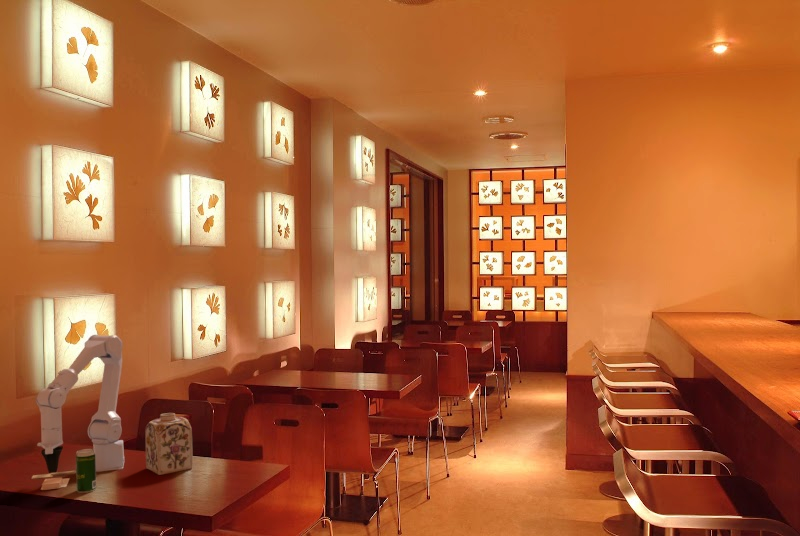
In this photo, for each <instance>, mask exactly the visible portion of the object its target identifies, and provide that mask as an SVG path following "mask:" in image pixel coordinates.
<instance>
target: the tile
mask: <svg viewBox="0 0 800 536" xmlns="http://www.w3.org/2000/svg"><path fill="white" fill-rule="evenodd" d="M62 479H63V477H62V476H61V477H50V478H44V480H43V482H42V484H41V488H42V491H47V490H48V491H49V490H56V489H61V488H62V487H61V484H62Z"/></svg>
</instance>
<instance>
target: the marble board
mask: <svg viewBox="0 0 800 536" xmlns="http://www.w3.org/2000/svg"><path fill="white" fill-rule="evenodd" d="M70 479H71V478H70V477H69V478H62V484H61V487H60V488H67V486H68V484H69V481H70ZM40 490H42V487H41V488H40ZM42 491H43V490H42Z"/></svg>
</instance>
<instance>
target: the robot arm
mask: <svg viewBox="0 0 800 536" xmlns="http://www.w3.org/2000/svg"><path fill="white" fill-rule="evenodd" d="M123 346H124V342H123V341H122V340H121V337H119V336H118V335H116V334H114V335H113V334H111V335H105V334H104V335H103V334H102V335H100V334H99V335H98V334H92V335H90V336H89V338H88V339H87V340H86V341H85V342H84V348H83V349H82V350H81V351H80V353H79V354H78V355H77V357H76V358H75V359H74V361H73V362H72V363H71V364H70V366H69V367H68V368H64V369H62V370H59V371H58V373H57V376H55V378H54V379H53V380H52V381H51V382H50V383H49V384H48V385H47V387H45V388H43V389H41V390H40V391H39V392H38V394H37V396H36V398H35V403H36V404H37V406H38V408H39V409H38V410H39V412H40V427H41V429H40V431H41V432H40V433H41V436H40V437H41V442H38V443H37V444H36V446H37V447H41V448H43V449H42V450H41V453H40V454H41V455H42V457H43V458H44V461H45V464H46V467H47V471H48V474H51V473H57V472H58V467H59V462H60V456H61V453H62V451H63V449H64V446H62V445H63V444H64V441H63V420H62V419H63V417H62V414H63V412H62V406H63V405H64V404H65V403H66V399H67V397H68V393H69V392H70V390H71V389H72V388H73V387H74V386H75V384H76V383H77V382H78V381H79V375H80V374H81V373H82V372H83V370H85V368H86V367H87V366H88V365H89V364H90V363H91V362H92V361H93V360H94V359H95V358H98V359H99V360H101V362H102V364H104V365H103V372H102V379H101V380H102V381H101V386H100V393H99V394H100V395H99V400H98V401H99V402H98V408H97V409H98V410H97V411H96V412H95V413H94V415H92V416H91V420H90V423H89V425H88V427H87V435H88V437H89V439H90V440H91V442H92V445H93V448H92V449H94V450H95V451H94V452H95V454H96V473H99V472H108V471H117V470H123V469H124V466H125V462H126V461H125V458H126V457H125V453H124V452H125V451H124V450H125V449H124V440H123V439H120V438H121V435H122V432H123V429H122V422H121V421H122V419H121V418H122V417H120V416H119V414H118V413H117V405H118V396H119V389H120V381H121V377H122V376H121V375H122V370H123V360H124V359H123V353H122V352H123ZM119 439H120V440H119Z"/></svg>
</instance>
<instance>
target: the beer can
mask: <svg viewBox="0 0 800 536" xmlns="http://www.w3.org/2000/svg"><path fill="white" fill-rule="evenodd" d="M94 451H95V450H94V449H93V448H84V449H80V450H77V451H76V452H75V453H76V454H75V476H76V477H75V478H76V491H77V493H78V494H87V493H92V492H94V491H96V489H97V472H96V454H95V452H94Z"/></svg>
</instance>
